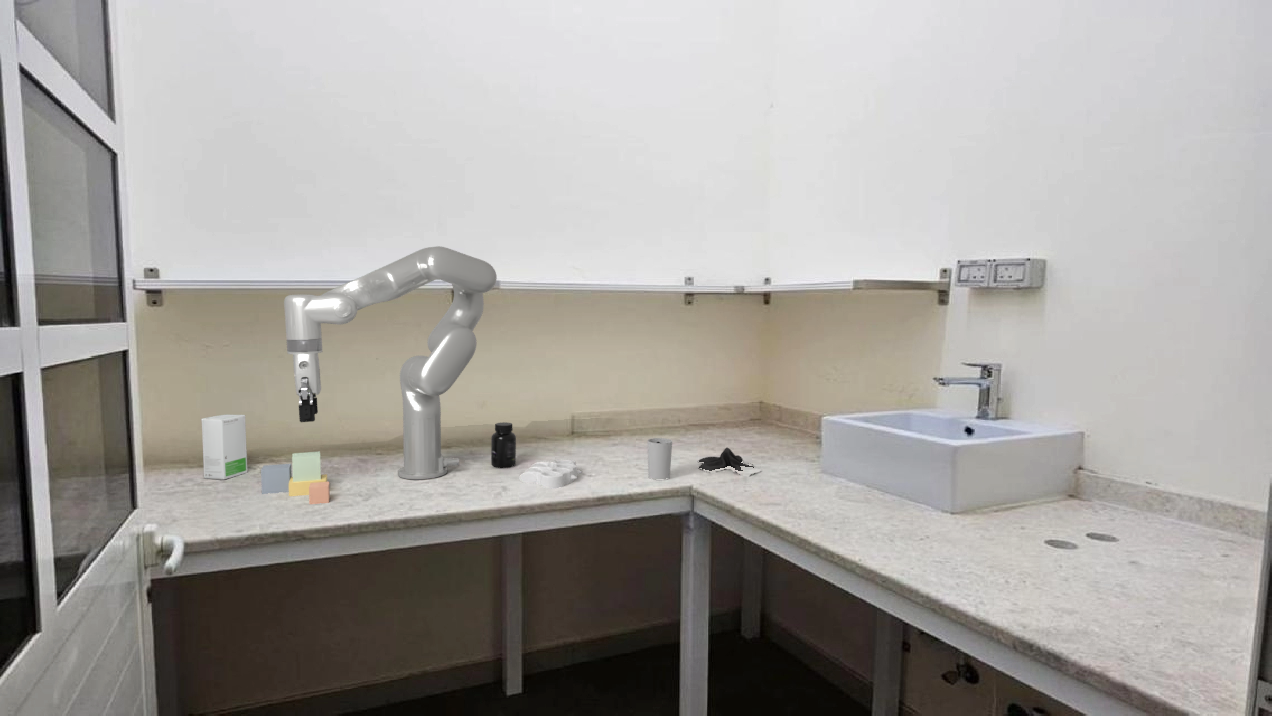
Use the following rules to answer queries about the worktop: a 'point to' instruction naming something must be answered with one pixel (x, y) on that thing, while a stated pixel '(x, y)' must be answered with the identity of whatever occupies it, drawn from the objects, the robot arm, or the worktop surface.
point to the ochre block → (303, 486)
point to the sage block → (306, 466)
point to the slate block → (275, 478)
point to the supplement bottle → (503, 446)
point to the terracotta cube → (319, 492)
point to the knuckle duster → (551, 473)
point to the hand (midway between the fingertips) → (309, 417)
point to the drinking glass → (659, 458)
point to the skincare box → (224, 446)
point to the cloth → (723, 461)
